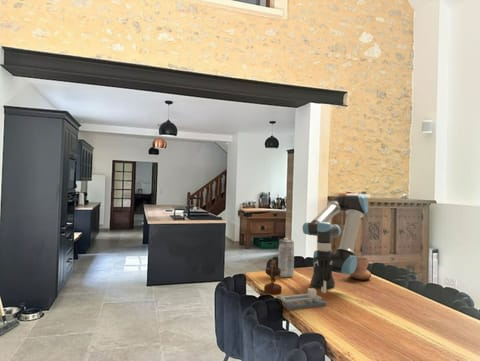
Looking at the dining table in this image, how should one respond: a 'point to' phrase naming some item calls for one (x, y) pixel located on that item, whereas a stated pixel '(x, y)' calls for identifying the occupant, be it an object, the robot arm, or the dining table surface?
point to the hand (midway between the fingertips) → (323, 292)
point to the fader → (311, 292)
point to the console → (301, 301)
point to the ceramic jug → (361, 269)
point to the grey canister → (286, 257)
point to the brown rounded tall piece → (273, 279)
